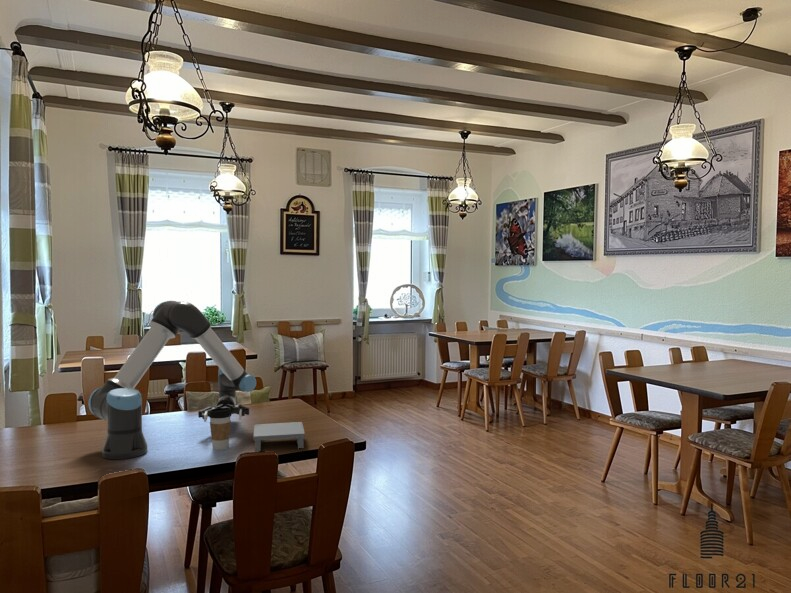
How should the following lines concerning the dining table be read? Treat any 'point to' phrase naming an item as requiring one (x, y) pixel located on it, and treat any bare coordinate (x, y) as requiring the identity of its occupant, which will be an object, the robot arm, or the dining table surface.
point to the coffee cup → (220, 427)
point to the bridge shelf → (278, 433)
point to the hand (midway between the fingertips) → (222, 417)
